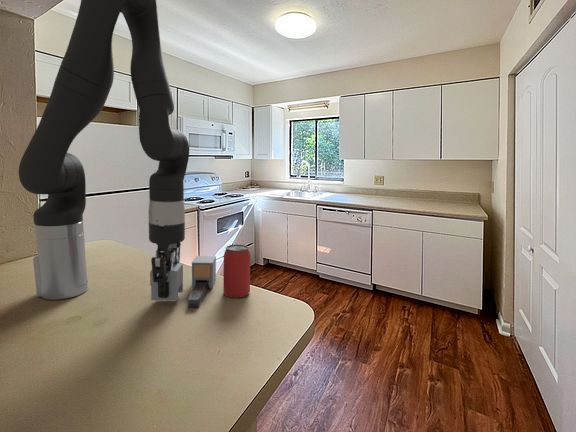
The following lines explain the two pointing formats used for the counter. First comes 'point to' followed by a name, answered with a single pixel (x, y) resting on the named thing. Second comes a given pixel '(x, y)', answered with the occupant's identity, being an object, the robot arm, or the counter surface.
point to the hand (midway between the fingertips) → (167, 291)
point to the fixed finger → (204, 270)
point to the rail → (198, 293)
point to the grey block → (174, 283)
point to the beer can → (236, 271)
